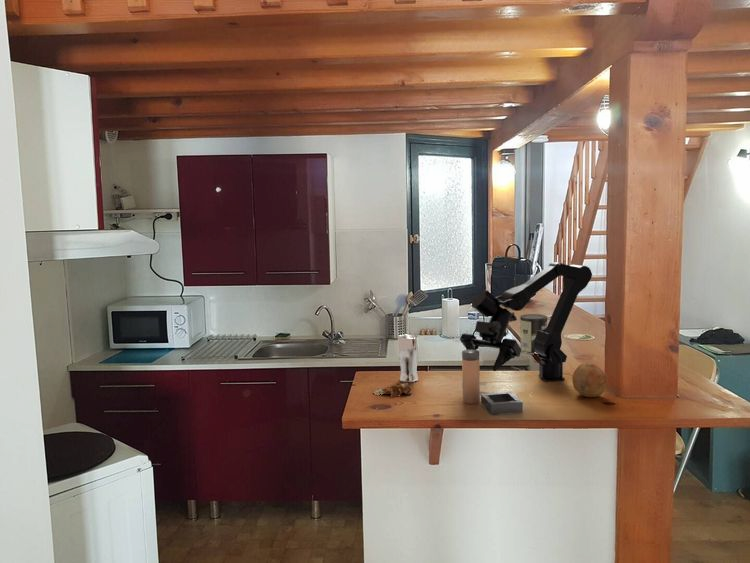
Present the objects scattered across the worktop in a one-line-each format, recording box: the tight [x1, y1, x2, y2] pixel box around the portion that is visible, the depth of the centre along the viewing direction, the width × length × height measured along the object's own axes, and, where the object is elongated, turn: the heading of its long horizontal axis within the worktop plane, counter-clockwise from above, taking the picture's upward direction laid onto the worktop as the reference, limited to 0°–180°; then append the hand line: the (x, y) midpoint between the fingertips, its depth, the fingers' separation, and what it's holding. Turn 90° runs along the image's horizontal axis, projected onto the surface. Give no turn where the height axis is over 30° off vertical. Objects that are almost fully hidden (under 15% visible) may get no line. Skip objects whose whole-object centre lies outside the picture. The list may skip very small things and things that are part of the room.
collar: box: [480, 391, 524, 416], centre depth 159 cm, size 9×9×3 cm
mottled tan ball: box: [571, 362, 608, 398], centre depth 165 cm, size 10×10×10 cm
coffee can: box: [519, 313, 549, 356], centre depth 217 cm, size 10×10×14 cm
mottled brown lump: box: [373, 382, 412, 397], centre depth 175 cm, size 7×12×4 cm, turn 96°
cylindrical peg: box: [461, 349, 481, 405], centre depth 164 cm, size 5×5×15 cm
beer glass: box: [397, 333, 420, 383], centre depth 187 cm, size 7×7×15 cm
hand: (480, 368), depth 168 cm, fingers open, 9 cm apart
